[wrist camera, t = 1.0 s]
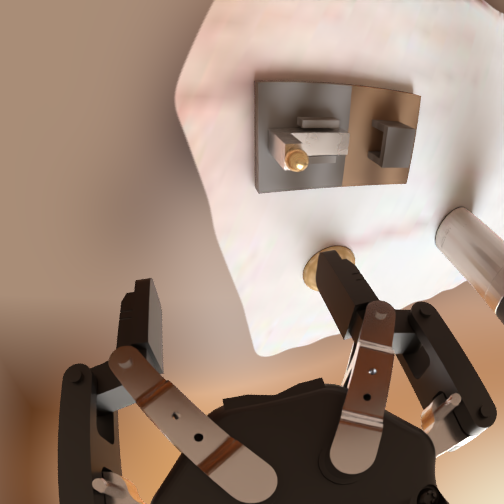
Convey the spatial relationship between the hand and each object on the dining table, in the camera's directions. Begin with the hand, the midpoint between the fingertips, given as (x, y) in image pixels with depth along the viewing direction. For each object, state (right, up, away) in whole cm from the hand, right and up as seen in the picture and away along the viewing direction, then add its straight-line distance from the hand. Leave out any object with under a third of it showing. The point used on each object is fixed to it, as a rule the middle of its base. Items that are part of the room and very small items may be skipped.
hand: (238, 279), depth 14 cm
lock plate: (+11, +15, +18) cm, 25 cm away
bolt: (+6, +13, +16) cm, 21 cm away
